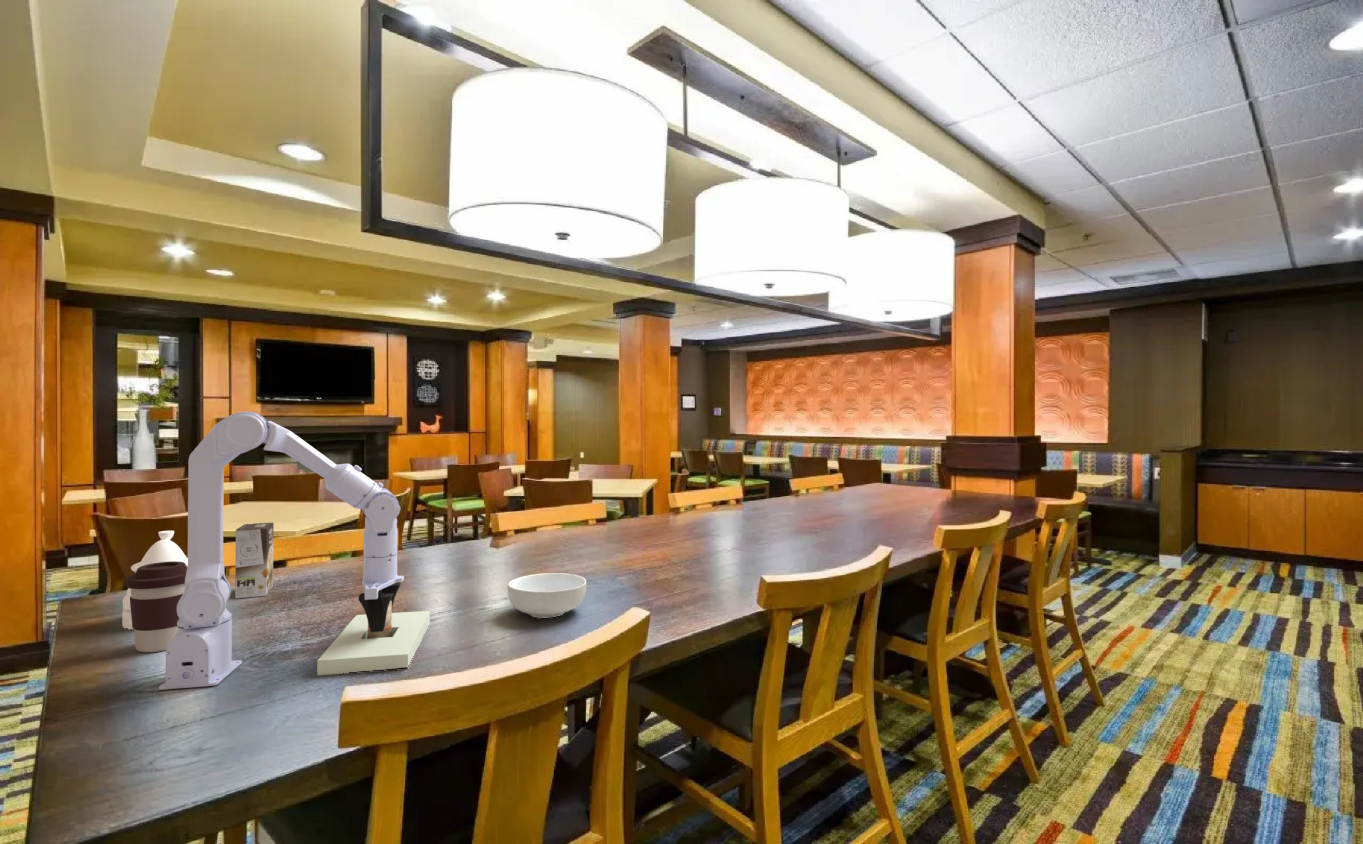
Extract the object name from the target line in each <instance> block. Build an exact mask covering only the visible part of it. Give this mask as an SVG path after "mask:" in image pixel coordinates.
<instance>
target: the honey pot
mask: <svg viewBox="0 0 1363 844" xmlns="http://www.w3.org/2000/svg"><path fill="white" fill-rule="evenodd" d="M174 534H175V530H162V531H158V537H159V538H160V540H158V541H156V542H155V543H154V544H152V545H151V546H150V547H149V549H148V550H147V551H146V552H145V554H144V555H143V557H142V559H141V561H139V562H137V563H134V564H132V565H131V566H130V569H131V571H133V572H134V574H135V573H136V571H137V569H138V568H139V567H141V566H144V565H148V564H152V563H159V562H170V561H178V562H184V563H185V564H186V566H187V567H188V557H187V555H185V553H184V551H183V550H182V549H181V547H180V546H179V545H178V544H177V543H176V542H174V541H173V540H171V539H172V538H173V537H174ZM130 597H131V588H127V589H126V595H124V597H123V599H122V608H123V609H122V611H121V612H122V616H121V617H122V623H121V624H122V625H121V627H122V628H123V629H126V628H128V629H127V630H130V629H132V631H134V630H133V628H132V618H131V607H130Z"/></svg>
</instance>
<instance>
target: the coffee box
mask: <svg viewBox="0 0 1363 844" xmlns="http://www.w3.org/2000/svg"><path fill="white" fill-rule="evenodd" d="M274 524H275V523H274V522H257V523H256V522H255V523H246V524H243V525H241V526H239V527H238V528H236V529H235V575H234V576H235V578H234V579H235V582H234V583H235V584H234V586H235V588H234V589H235V591H234V593H235V594H234V596H235V597H234V598H235V599H244V598H245V599H246V598H254V597H266V596H267V595H268V594H269V592H270V591H271V590H272V588H273V587H274Z"/></svg>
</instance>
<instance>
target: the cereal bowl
mask: <svg viewBox="0 0 1363 844" xmlns="http://www.w3.org/2000/svg"><path fill="white" fill-rule="evenodd" d="M587 584H588V583H587V580H586V578H585V577H583V576H580V575H578V574H572V573H564V572H559V573H558V572H553V573H552V572H546V573H536V574H535V573H534V574H529V575H524V576H523V575H522V576H520V577H517V578H514V579H512V580H511V581H509V582H508V583H507V594H508V599H509V602H510V603H511V605H512V606H513V607H514V608H515V609H516V610H518V611H520V612H522V613H525V614H528V615H529V614H530V615H532V616H536V617H554V616H558V615H561V614H564V613H565V612H566V613H567V612H570V611H571V610H575V608H577V607H578V606H579V605H580V604H581V603H582V602H583V600H584V599H585V596H586V592H587ZM566 613H565V614H566ZM565 614H564V615H565ZM530 615H529V616H530Z"/></svg>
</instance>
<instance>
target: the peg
mask: <svg viewBox="0 0 1363 844" xmlns="http://www.w3.org/2000/svg"><path fill="white" fill-rule="evenodd" d="M392 613H393V607H392V601H390V603H389V606H388V610H387V616H386V622H385V627H384V630H383V631H382V632H371V631H370V628H369V624H368V639H370V638H385V637H392Z"/></svg>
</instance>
